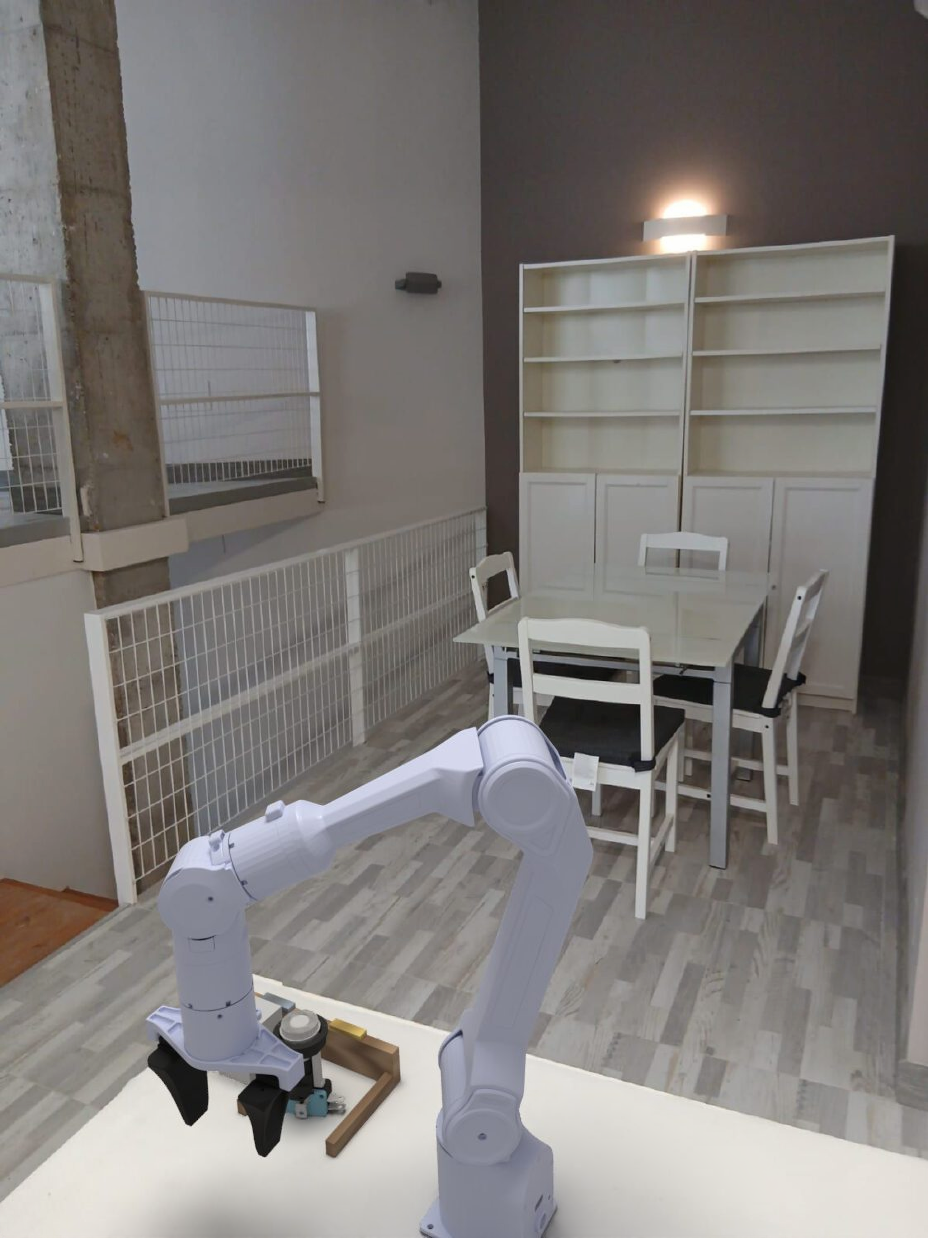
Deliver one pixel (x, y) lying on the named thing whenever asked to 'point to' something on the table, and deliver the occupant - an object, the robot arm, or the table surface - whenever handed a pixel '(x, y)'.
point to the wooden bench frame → (357, 1055)
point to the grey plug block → (269, 1020)
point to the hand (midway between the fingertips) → (232, 1132)
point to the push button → (308, 1063)
